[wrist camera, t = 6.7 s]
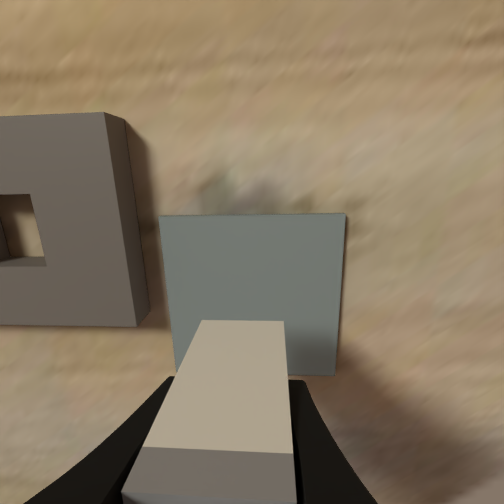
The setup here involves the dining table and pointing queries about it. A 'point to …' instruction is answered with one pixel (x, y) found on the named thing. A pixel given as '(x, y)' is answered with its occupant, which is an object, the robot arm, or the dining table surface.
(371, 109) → the dining table surface
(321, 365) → the mat
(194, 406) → the plug
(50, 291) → the grey slotted plate
